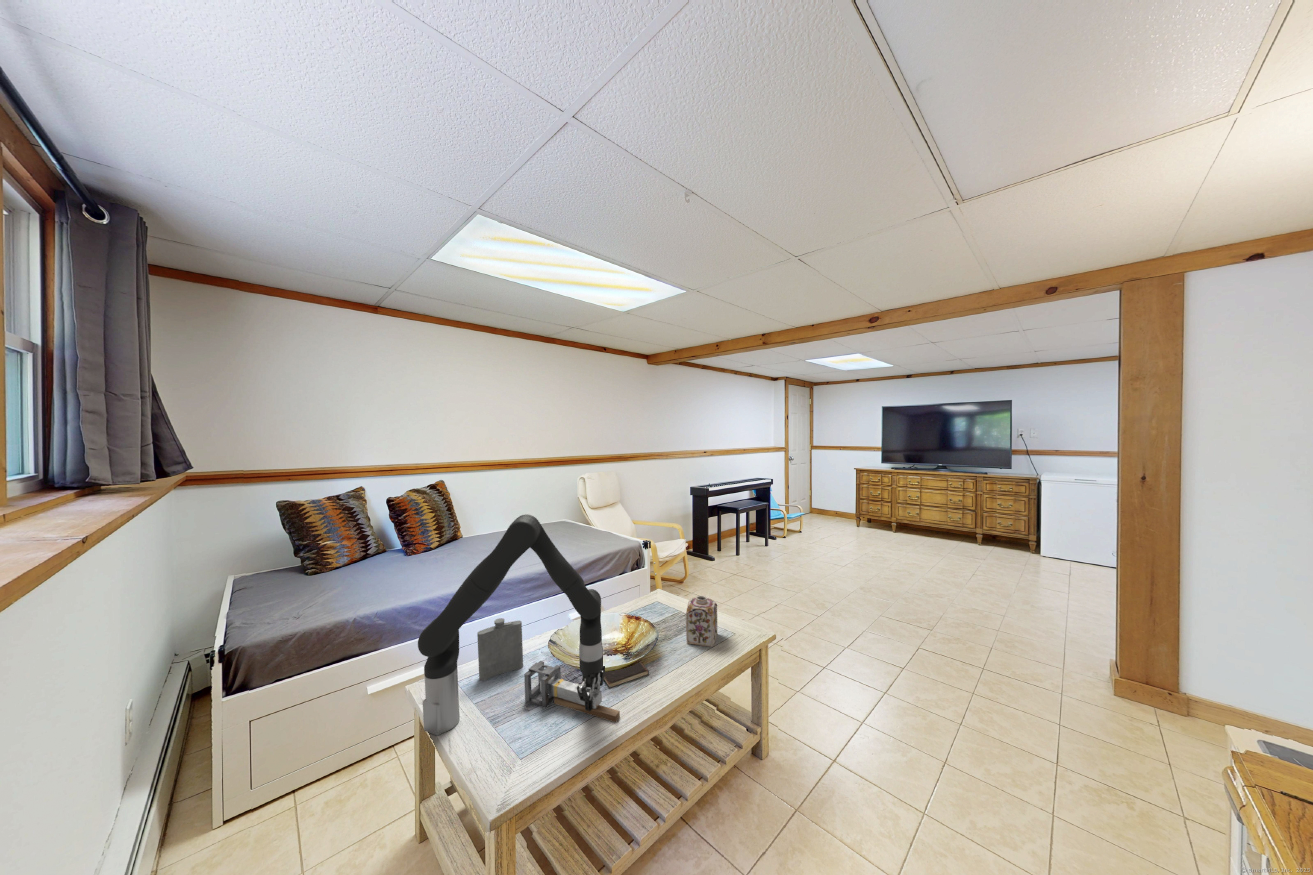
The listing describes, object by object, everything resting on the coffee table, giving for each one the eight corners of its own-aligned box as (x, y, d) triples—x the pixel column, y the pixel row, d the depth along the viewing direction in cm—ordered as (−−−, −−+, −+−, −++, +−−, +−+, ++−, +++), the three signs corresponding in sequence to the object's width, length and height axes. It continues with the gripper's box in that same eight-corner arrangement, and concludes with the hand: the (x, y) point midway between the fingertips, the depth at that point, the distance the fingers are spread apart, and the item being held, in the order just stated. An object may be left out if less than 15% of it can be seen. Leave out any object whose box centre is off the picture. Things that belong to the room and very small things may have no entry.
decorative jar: (685, 643, 176) (685, 601, 175) (691, 630, 187) (690, 590, 186) (714, 647, 173) (713, 605, 172) (718, 633, 184) (717, 593, 183)
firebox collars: (545, 708, 138) (544, 678, 138) (525, 701, 142) (524, 672, 141) (561, 692, 146) (560, 664, 146) (541, 686, 150) (540, 658, 149)
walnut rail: (615, 722, 131) (615, 716, 131) (554, 703, 141) (554, 697, 141) (619, 716, 134) (619, 710, 134) (559, 698, 143) (558, 692, 143)
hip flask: (480, 681, 153) (477, 628, 152) (478, 676, 157) (475, 623, 156) (524, 667, 162) (522, 616, 161) (521, 662, 165) (519, 612, 164)
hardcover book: (609, 689, 148) (608, 683, 148) (587, 657, 168) (586, 652, 168) (649, 675, 156) (648, 669, 156) (623, 646, 176) (623, 641, 176)
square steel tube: (601, 701, 136) (601, 690, 136) (595, 708, 133) (595, 697, 133) (547, 685, 145) (546, 674, 145) (540, 691, 142) (539, 680, 142)
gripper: (589, 668, 127) (590, 723, 128) (612, 645, 140) (613, 695, 141) (568, 663, 130) (569, 716, 131) (593, 640, 143) (594, 689, 144)
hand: (592, 705), depth 136 cm, fingers closed on square steel tube, 3 cm apart
